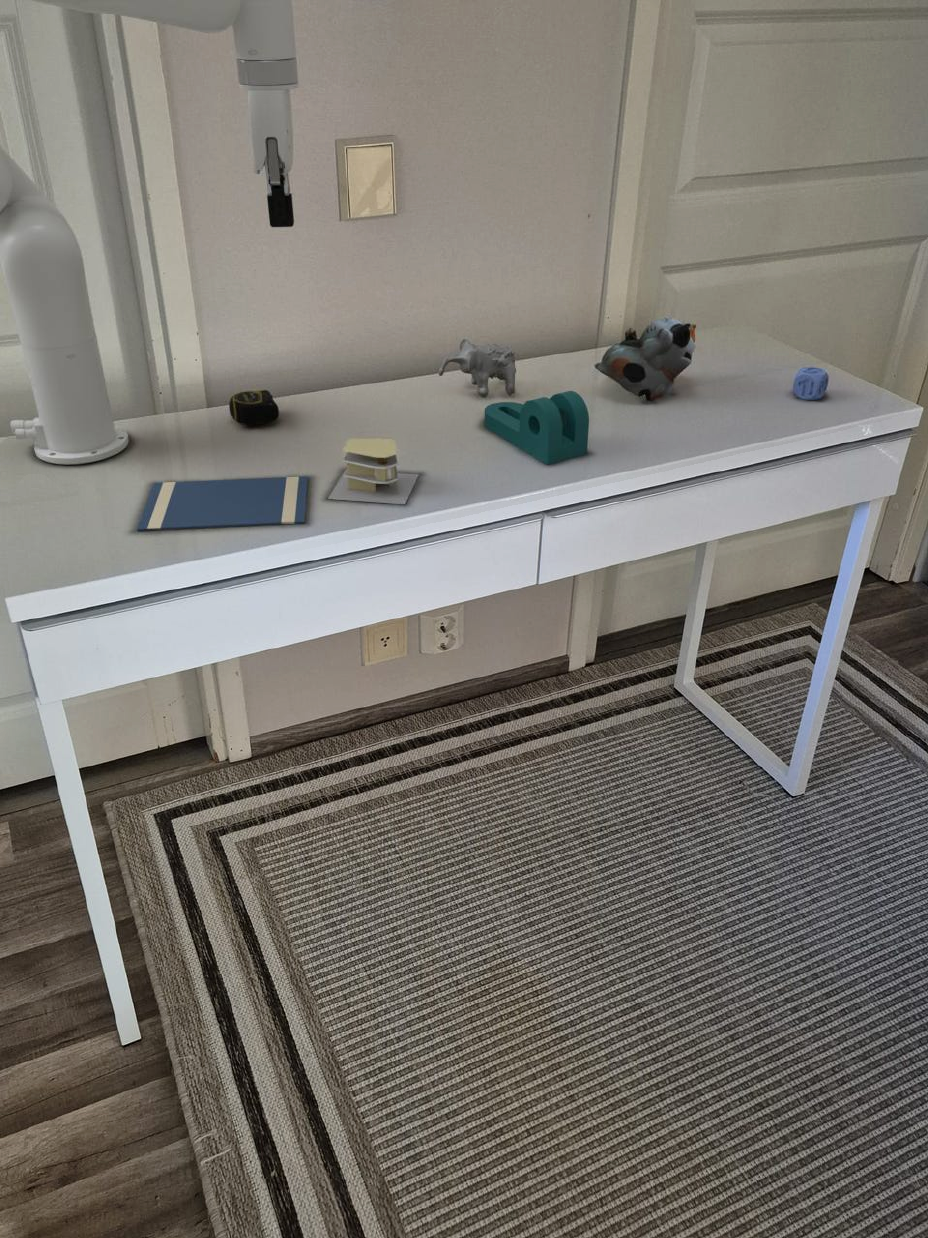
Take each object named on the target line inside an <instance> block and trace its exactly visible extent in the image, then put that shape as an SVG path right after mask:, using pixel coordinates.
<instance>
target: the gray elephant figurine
mask: <svg viewBox="0 0 928 1238" xmlns="http://www.w3.org/2000/svg"><path fill="white" fill-rule="evenodd" d="M515 355H516V352H515V351H512V350H511V349H510V348H509V347H508V346H507V347H502V346H500V345H499V344H497V343H490V344H489V343H487V344H486V345H477V344H474V343H471V342H470V341H469V340H468V339H467V338H463V339H462V340H461V342H460V344H459V353H456V354H453V355H449V356H446V357H445V358H444V360H443V361H442V362H441V365H440V368H439V369H438V376H439V377H442V376H443V375H444V373H445V368H446V366H448V364H449V363H457V364H458V365H459V366H460V371H461V372H462V373H464V374H467V375H471V379H470V380H471V385H474V386H476V387H477V388H476V393H477V395H478V396H479V397H481V398H486V397H487V396H488V395H489V392H490V389H489V379H491V380H493V379H494V378H495V379H498V380H500V381H504V391H505V393H506V394H507V395H509V396H513V394H515V392H516V374H517V369H516V368H517V367H516V360H515V359H516V357H515Z"/></svg>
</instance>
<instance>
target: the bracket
mask: <svg viewBox="0 0 928 1238" xmlns="http://www.w3.org/2000/svg"><path fill="white" fill-rule="evenodd" d="M483 413H484V414H483V415H484V420H483V421H484V422H483V423H484V424H483V425H484V428H485V429H486V430H488V431H490V432H491V433H493V434H495V435H496V436H498V437H499V438H502V439H503V440H504V441H507V442H508V443H510V444H512V445H514V446H515V447H516V448H518V449H520V450H522V451H523V452H525V453H527V454H529V455H530V456H532V457H533V458H535V459H537V460H539V461H541V462H542V463H544V464H546V465H553V464H555V463H558V462H563V461H566V460H569V459H574V458H577V457H580V456H584V455H587V454H588V444H589V443H588V442H589V429H590V416H589V415H590V414H589V410H588V407H587V404H586V402H585V400H584V398H583V397H582V396H581V395H580V393H578V392H576V391H574V390H568V391H567V390H566V391H563V392H559V393H555V394H552V395H551V397H550V398H549V397H545V396H543V397H538V398H533V399H530V400H527V401H525V402H524V403H519V402H515V401H500V402H494V403H491V404H488V405H487V406H486V407H485V408H484V412H483Z"/></svg>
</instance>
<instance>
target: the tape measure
mask: <svg viewBox="0 0 928 1238" xmlns="http://www.w3.org/2000/svg"><path fill="white" fill-rule="evenodd" d="M228 405H229V406H228V407H229V414H230V416H231V418H232V419H233V421H234V422H236V423H238V424H241V425H246V426H257V425H262V424H264V423H269V422H270V423H271V422H273V421H276V420H278V419H279V417H280V410H279V406H278V404H277V403H276V402H275V400H274V398H273V395H272V394H271V392H270V391H269V390H267V389H263V390H245V391H240V392H237V393H235V394H233V395H232V396H231V397H230V399H229V402H228Z"/></svg>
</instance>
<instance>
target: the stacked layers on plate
mask: <svg viewBox="0 0 928 1238" xmlns="http://www.w3.org/2000/svg"><path fill="white" fill-rule="evenodd" d="M342 451H343V452H347V453H346V455H345V456H344V458H343V459H342V460H343V463H346V468H347V469H345V470H344V472H343V473H342V475H341V476H340V478H339V480H338V481H337V483H336V485H335V486H334V488H333V490H332V491H331V492H330V494H329V496H328V498H327V499H328V500H335V501H336V500H339V501H351V502H352V501H353V502H364V503H365V502H366V503H378V504H379V503H380V504H381V503H382V504H393V505H395V504H396V505H406V503H407V500H408V498H409V497H410V494H411V492H412V490H413V488H414V486H415V483H416V481H417V479H418V477H419V474H418V473H417V474H415V473H401V472H398V469H397V465H398V458H397V445H396V442H395V441H394V440H392V439H390V438H350V439H349V440H348V441H347V443H346V444H345V445H344V447H343V448H342Z"/></svg>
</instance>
